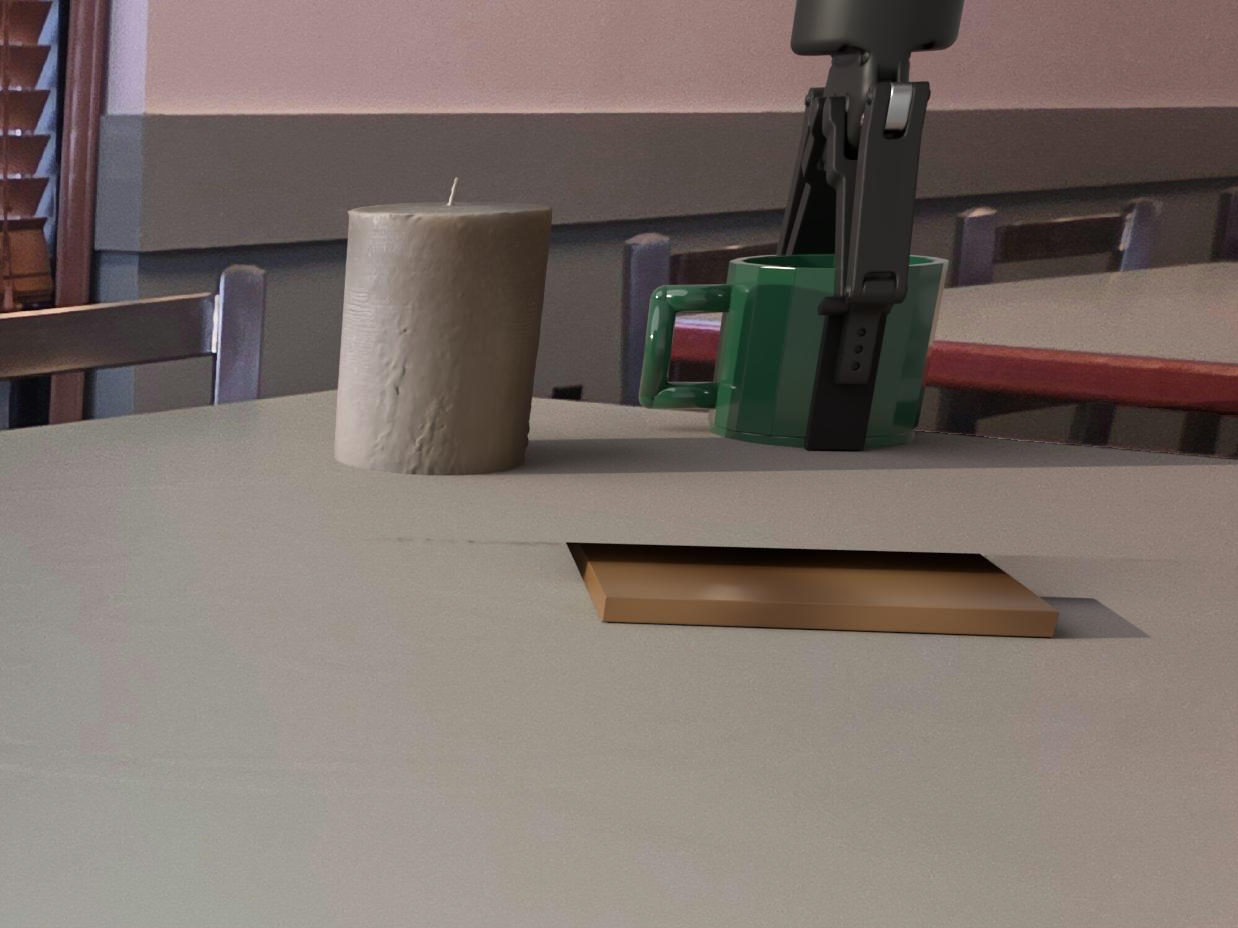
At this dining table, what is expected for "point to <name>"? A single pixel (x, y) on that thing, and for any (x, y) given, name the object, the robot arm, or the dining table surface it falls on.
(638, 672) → the dining table surface
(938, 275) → the mug
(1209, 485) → the dining table surface
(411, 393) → the pillar candle
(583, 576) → the trivet
